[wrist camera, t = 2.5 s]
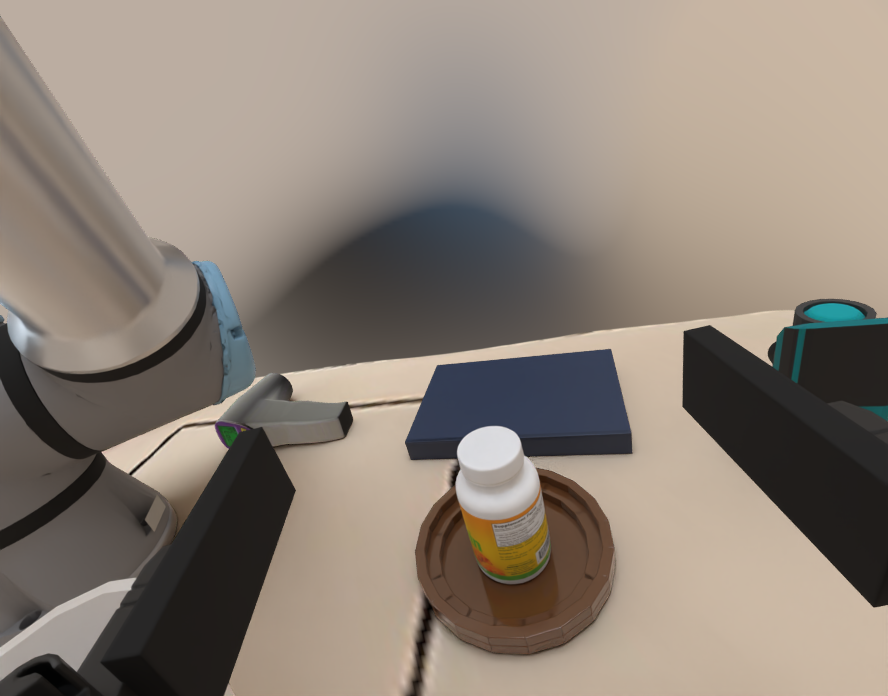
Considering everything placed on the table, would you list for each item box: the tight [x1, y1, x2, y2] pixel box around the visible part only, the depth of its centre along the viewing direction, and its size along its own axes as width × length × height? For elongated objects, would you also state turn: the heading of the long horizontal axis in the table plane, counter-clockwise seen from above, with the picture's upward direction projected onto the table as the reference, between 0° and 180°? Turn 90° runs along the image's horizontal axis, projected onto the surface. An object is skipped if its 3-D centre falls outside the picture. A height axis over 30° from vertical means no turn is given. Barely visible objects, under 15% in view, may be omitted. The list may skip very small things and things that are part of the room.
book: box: [405, 349, 632, 460], centre depth 45 cm, size 20×14×2 cm
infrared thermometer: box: [215, 373, 353, 449], centre depth 53 cm, size 5×12×15 cm
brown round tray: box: [415, 468, 615, 654], centre depth 31 cm, size 13×13×2 cm
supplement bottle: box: [456, 426, 551, 584], centre depth 29 cm, size 5×5×10 cm
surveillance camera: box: [768, 299, 888, 421], centre depth 32 cm, size 6×12×10 cm
